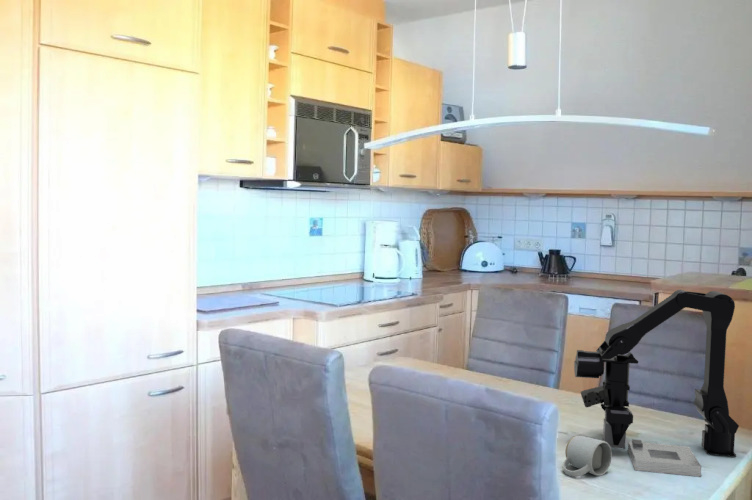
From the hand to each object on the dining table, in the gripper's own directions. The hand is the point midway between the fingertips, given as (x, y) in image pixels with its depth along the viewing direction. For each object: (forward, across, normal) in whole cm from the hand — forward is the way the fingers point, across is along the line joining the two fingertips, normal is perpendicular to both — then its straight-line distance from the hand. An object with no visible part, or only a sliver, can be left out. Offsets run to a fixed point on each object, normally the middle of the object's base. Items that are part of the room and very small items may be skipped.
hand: (614, 439), depth 178 cm
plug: (+1, 0, 0) cm, 1 cm away
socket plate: (+1, +10, +10) cm, 14 cm away
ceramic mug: (+2, +20, -8) cm, 22 cm away
